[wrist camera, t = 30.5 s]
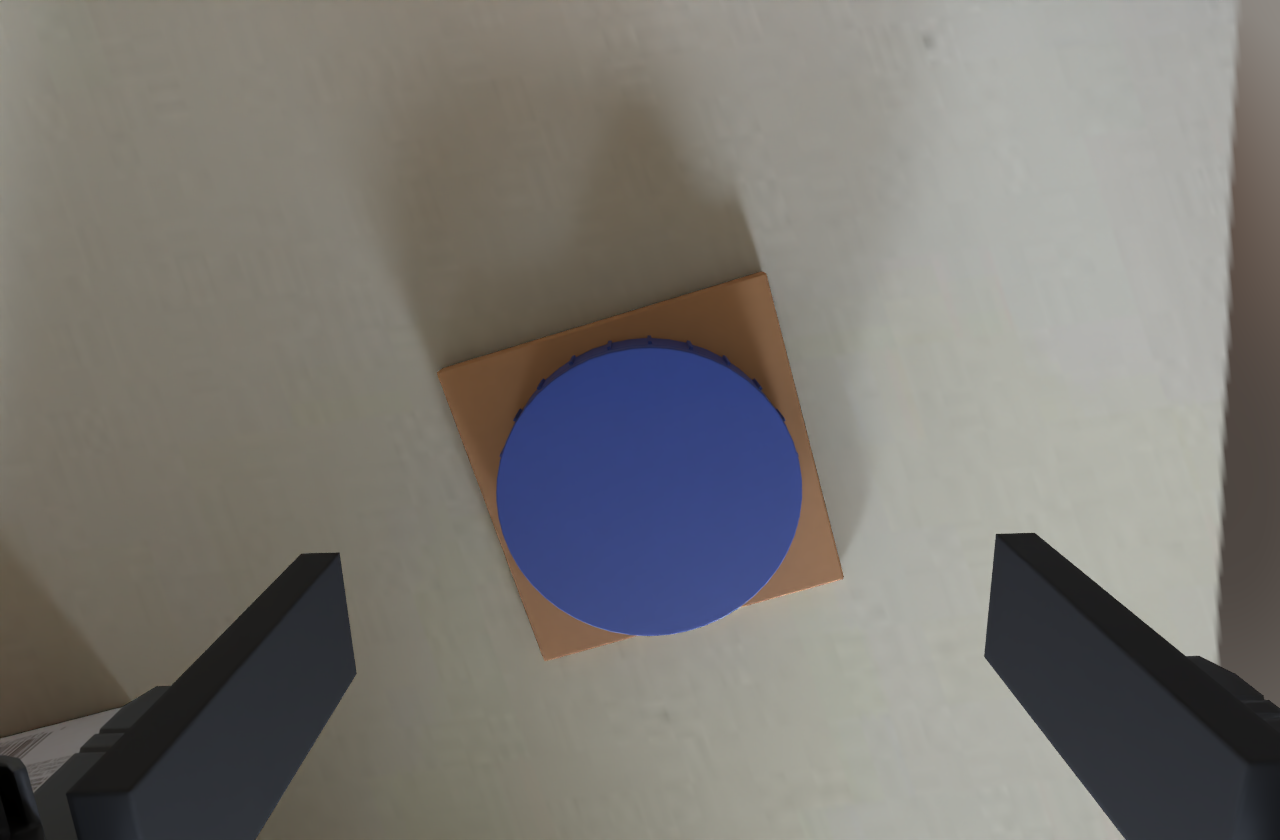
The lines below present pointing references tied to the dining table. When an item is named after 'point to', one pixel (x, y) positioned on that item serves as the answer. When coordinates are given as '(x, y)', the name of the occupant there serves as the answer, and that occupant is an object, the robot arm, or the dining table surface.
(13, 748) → the coffee box
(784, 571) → the coaster
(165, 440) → the dining table surface
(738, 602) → the lid
